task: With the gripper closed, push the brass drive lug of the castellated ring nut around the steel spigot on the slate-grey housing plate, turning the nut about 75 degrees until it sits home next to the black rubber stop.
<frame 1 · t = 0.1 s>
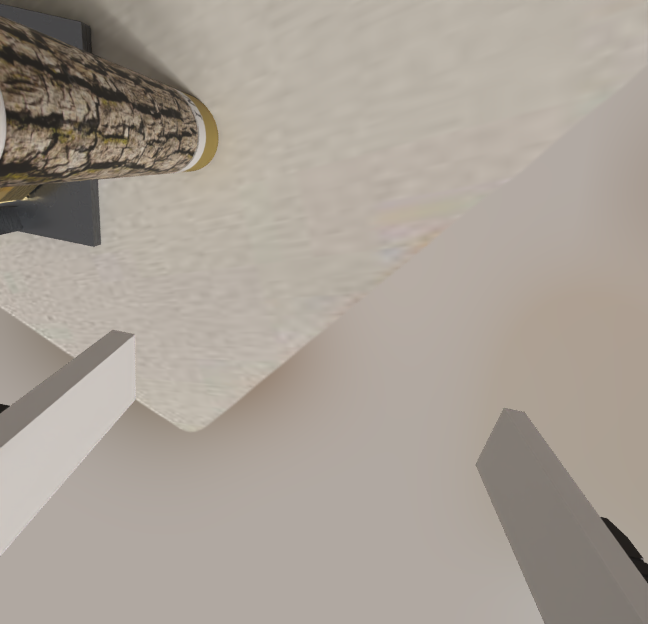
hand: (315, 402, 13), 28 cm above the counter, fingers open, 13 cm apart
bark textured cylinder: (187, 134, 35), on the counter
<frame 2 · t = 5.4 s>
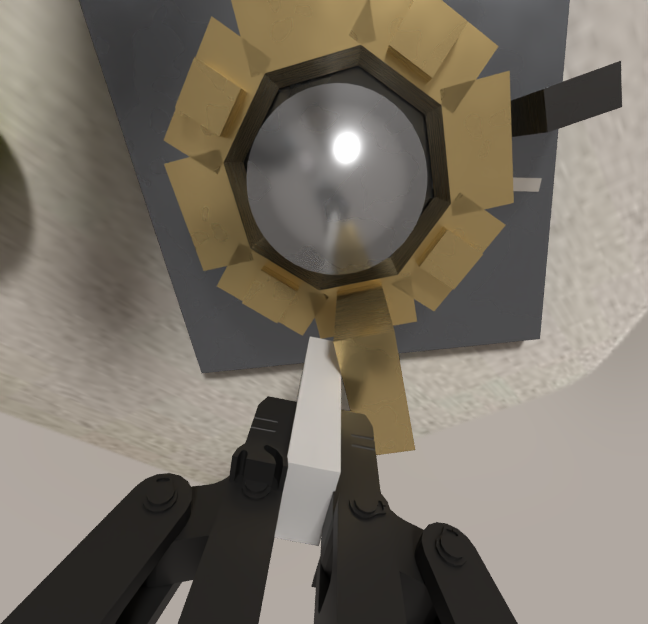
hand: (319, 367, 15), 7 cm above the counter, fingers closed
housing: (339, 178, 19), on the counter
ring nut: (344, 221, 14), point 5 cm above the counter, hinge at 4.6°, touching gripper
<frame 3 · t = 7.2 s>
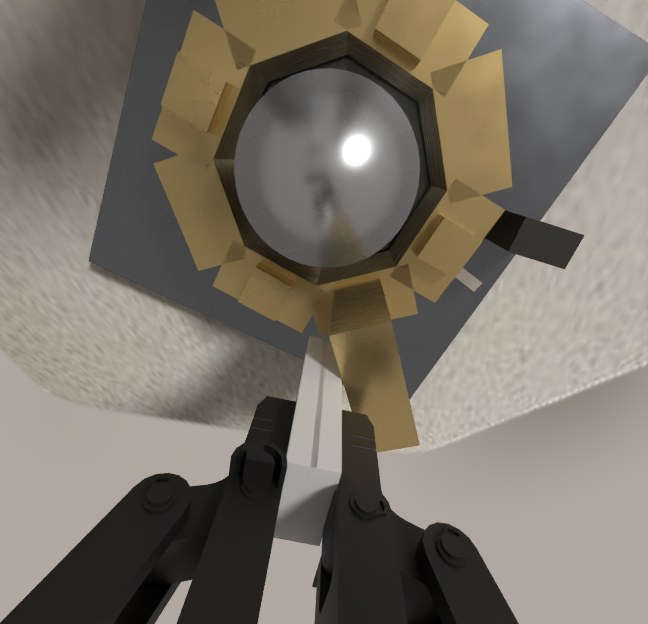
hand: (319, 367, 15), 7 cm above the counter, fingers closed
housing: (333, 171, 18), on the counter
ring nut: (338, 213, 14), point 5 cm above the counter, hinge at 41.8°, touching gripper
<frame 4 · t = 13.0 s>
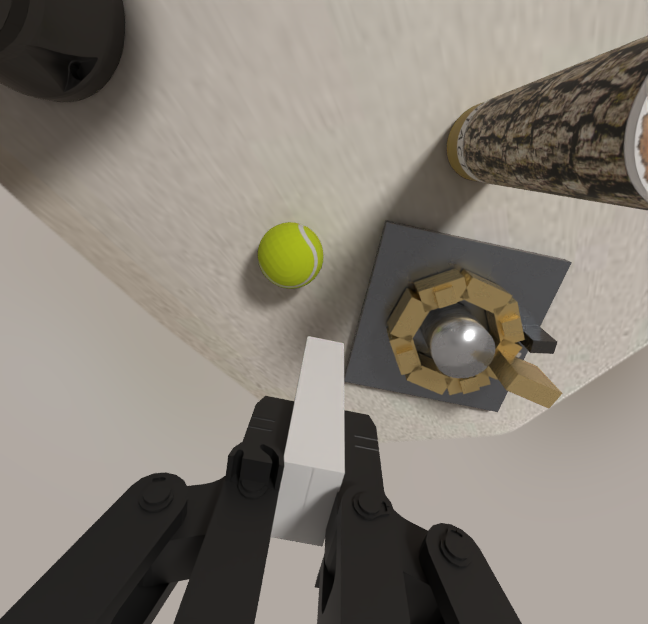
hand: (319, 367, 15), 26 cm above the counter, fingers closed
housing: (445, 322, 42), on the counter
bark textured cylinder: (479, 143, 35), on the counter
ring nut: (470, 349, 38), point 5 cm above the counter, hinge at 77.5°
tennis ball: (295, 248, 40), on the counter
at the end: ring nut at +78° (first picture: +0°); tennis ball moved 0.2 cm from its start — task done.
